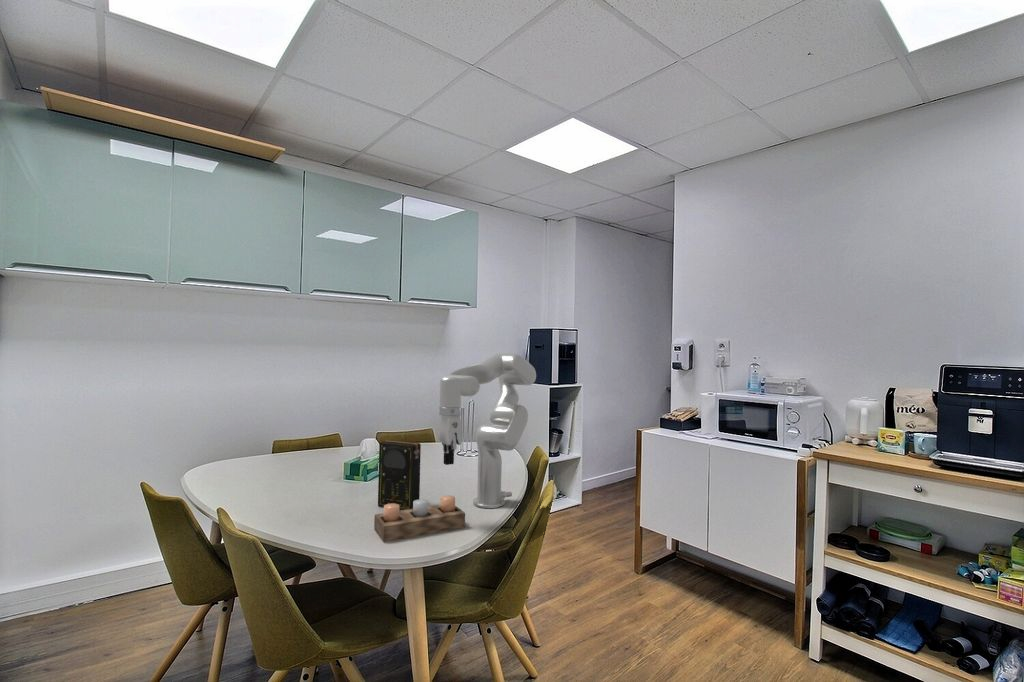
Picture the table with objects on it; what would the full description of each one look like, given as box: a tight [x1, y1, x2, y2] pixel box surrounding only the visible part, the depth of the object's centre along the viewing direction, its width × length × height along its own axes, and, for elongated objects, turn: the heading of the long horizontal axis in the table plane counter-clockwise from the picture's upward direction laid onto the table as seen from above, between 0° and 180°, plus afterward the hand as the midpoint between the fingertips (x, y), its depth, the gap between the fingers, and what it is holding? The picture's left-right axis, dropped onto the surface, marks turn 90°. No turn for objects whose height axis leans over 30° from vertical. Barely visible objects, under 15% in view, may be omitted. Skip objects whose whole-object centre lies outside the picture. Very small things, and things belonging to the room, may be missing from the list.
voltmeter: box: [377, 439, 422, 511], centre depth 184 cm, size 16×9×25 cm, turn 70°
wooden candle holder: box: [373, 504, 466, 543], centre depth 162 cm, size 28×12×5 cm, turn 120°
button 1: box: [383, 503, 400, 523], centre depth 157 cm, size 5×5×5 cm
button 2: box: [440, 494, 456, 513], centre depth 167 cm, size 5×5×5 cm
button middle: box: [413, 498, 429, 518], centre depth 162 cm, size 5×5×5 cm
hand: (448, 463), depth 167 cm, fingers closed
